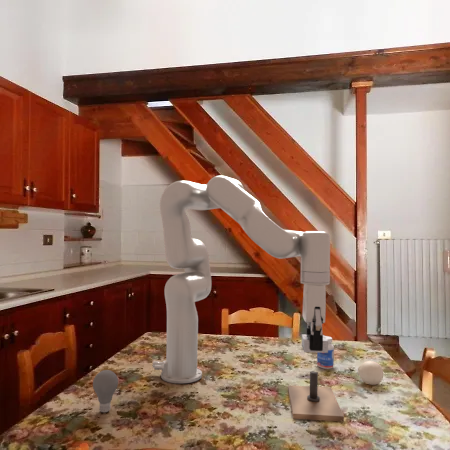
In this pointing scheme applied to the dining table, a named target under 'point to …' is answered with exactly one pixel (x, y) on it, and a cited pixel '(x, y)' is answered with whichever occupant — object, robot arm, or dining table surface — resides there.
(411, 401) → the dining table surface
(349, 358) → the dining table surface
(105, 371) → the light bulb
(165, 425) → the dining table surface
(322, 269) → the robot arm
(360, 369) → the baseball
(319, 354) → the pill bottle
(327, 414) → the peg on tan base
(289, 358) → the dining table surface
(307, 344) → the link
